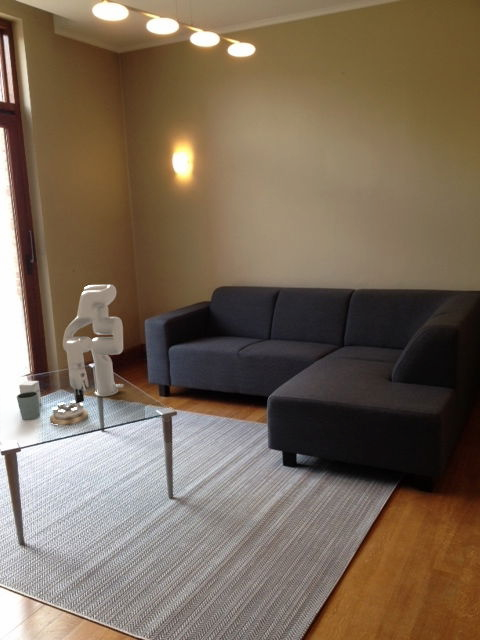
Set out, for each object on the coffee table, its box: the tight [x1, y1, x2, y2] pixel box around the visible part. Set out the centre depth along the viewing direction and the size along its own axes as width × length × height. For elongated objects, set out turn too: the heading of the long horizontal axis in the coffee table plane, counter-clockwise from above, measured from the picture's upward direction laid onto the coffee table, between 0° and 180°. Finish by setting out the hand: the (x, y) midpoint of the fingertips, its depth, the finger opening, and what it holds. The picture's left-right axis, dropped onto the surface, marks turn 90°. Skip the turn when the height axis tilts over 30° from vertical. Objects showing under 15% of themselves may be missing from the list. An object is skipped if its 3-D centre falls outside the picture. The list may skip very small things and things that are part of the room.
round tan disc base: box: [49, 408, 89, 426], centre depth 285 cm, size 18×18×3 cm
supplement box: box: [18, 380, 42, 405], centre depth 306 cm, size 7×7×13 cm
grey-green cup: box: [16, 392, 41, 421], centre depth 289 cm, size 10×10×12 cm
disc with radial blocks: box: [52, 390, 84, 420], centre depth 283 cm, size 14×14×10 cm
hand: (80, 401), depth 284 cm, fingers closed
